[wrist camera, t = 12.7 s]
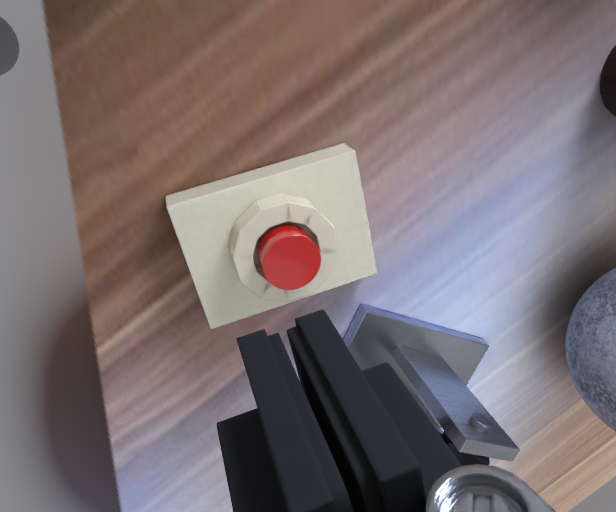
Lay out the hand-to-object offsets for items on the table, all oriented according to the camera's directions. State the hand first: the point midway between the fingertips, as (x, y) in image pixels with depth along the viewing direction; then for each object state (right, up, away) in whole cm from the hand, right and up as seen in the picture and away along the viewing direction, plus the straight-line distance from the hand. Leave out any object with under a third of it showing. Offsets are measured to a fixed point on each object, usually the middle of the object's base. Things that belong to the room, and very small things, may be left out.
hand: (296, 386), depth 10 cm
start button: (-1, +3, +24) cm, 24 cm away
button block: (-2, +4, +27) cm, 28 cm away
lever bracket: (+8, -7, +35) cm, 37 cm away
